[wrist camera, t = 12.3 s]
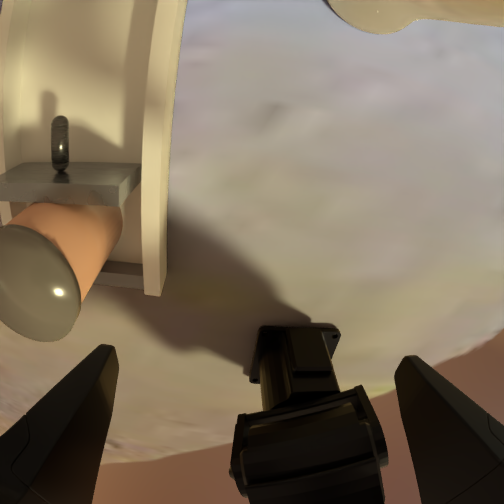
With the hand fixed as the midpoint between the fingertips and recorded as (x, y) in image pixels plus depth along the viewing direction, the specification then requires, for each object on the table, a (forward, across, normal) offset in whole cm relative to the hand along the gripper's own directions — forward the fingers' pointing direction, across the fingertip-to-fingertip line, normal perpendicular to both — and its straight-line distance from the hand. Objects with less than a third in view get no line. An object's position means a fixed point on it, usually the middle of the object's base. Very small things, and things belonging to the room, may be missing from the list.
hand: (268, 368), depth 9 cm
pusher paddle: (+11, +10, -4) cm, 16 cm away
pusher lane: (+12, +10, -5) cm, 17 cm away
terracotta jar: (+11, +10, +1) cm, 15 cm away
